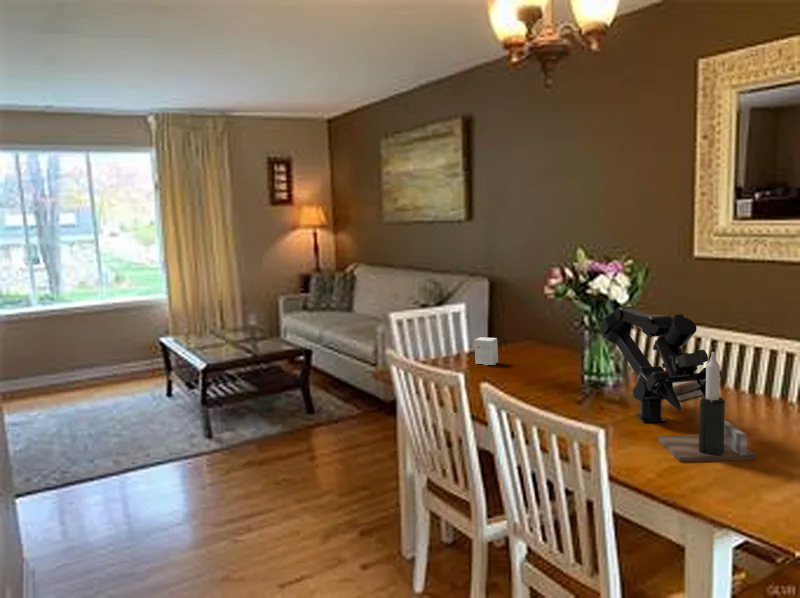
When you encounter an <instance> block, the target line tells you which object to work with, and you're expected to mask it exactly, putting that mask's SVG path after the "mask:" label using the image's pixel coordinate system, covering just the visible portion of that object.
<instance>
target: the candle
mask: <svg viewBox="0 0 800 598" xmlns="http://www.w3.org/2000/svg"><path fill="white" fill-rule="evenodd" d="M705 368H706V396H704V395H702V396H701V399H700V400H699V413H698V414H699V418H698V419H699V422H698V423H699V425H698V435H699V452H701V453H706V454H712V455H716V456H720V455H722V453H723V451H724V420H726V419H725V417H726V416H725V414H726V413H725V412H726V411H725V410H726V400H725V399H724V398H723V397H721V396H720V379H721V377H720V370H721V365H720V364H719V362H718V361H717V358H716V352H715V351H712V352H711V356H710V358H709V360H708V361H707V363H706V365H705Z"/></svg>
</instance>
